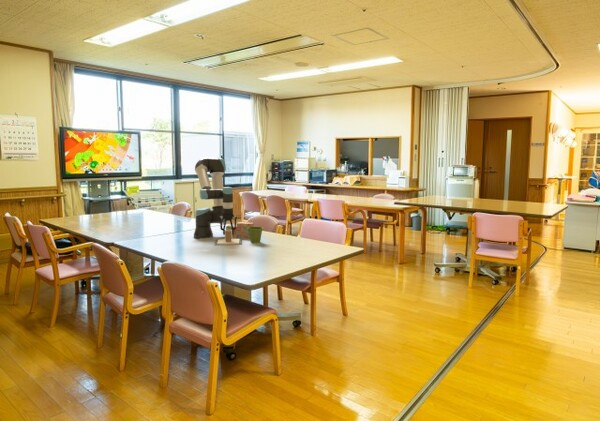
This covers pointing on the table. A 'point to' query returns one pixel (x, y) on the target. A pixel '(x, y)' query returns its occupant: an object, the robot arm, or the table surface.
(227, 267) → the table surface
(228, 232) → the lid
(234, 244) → the mat
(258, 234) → the plant pot
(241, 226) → the stack of blocks
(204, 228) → the robot arm
